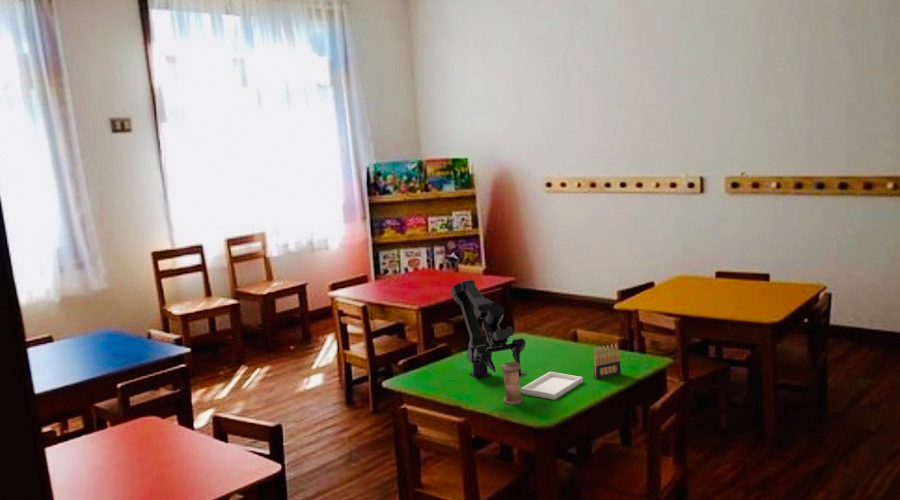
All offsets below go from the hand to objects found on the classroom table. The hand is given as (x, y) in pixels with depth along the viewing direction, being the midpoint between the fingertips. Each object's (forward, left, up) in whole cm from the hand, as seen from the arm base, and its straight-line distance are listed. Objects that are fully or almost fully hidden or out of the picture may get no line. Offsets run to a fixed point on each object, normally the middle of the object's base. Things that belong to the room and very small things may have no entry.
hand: (507, 369), depth 253 cm
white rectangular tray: (+2, +17, -10) cm, 20 cm away
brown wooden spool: (+4, -1, -10) cm, 11 cm away
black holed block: (-21, +16, -11) cm, 29 cm away
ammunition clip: (+5, +40, -11) cm, 42 cm away
